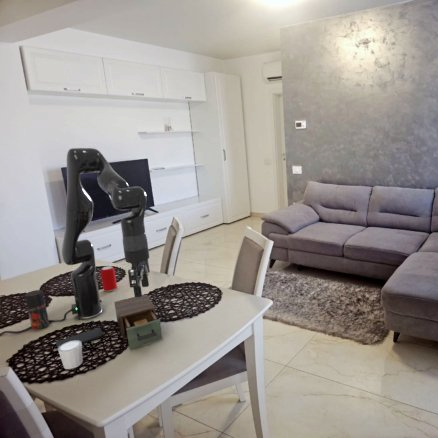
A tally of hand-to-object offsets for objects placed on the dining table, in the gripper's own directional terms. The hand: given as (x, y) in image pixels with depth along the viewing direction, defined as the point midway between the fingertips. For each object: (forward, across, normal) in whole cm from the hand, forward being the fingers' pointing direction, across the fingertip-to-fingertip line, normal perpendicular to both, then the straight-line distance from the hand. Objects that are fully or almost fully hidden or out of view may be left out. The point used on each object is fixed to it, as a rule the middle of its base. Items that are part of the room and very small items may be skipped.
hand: (142, 291), depth 124 cm
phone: (+22, -11, -29) cm, 38 cm away
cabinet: (+22, -18, -10) cm, 30 cm away
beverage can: (+22, -59, -35) cm, 72 cm away
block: (+20, -8, -5) cm, 22 cm away
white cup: (+22, +5, -24) cm, 33 cm away
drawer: (+21, -7, -4) cm, 23 cm away
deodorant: (+22, -25, -50) cm, 60 cm away
